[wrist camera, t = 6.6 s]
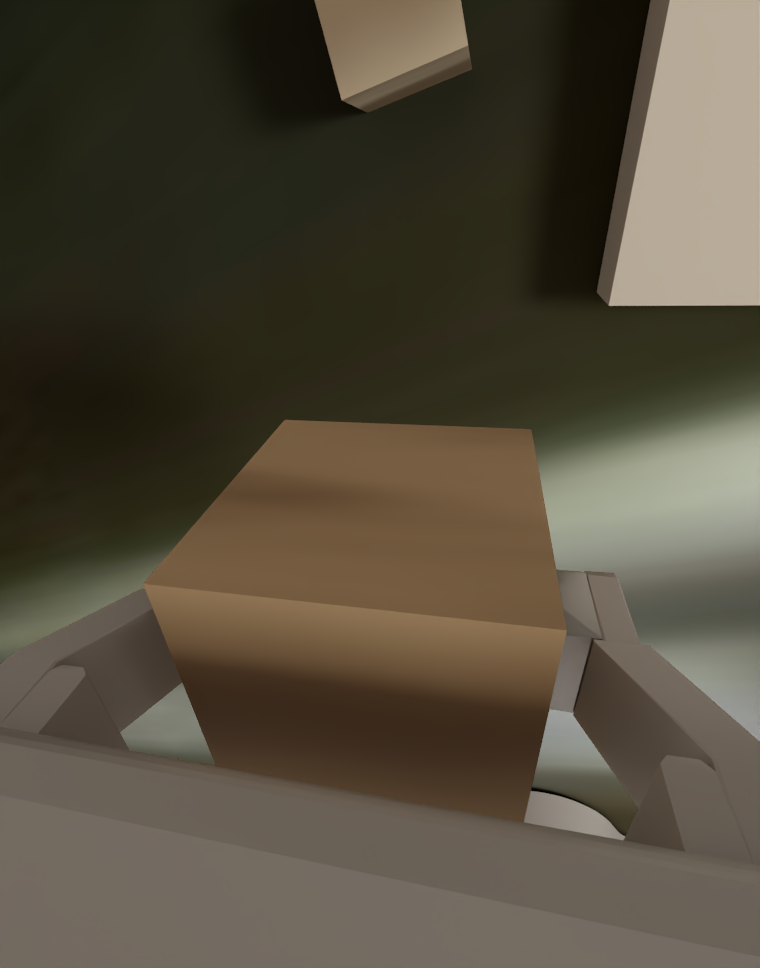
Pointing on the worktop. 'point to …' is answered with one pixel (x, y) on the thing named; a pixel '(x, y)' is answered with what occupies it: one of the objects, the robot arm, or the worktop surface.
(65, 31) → the worktop surface
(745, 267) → the plate
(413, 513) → the oak block
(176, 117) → the worktop surface
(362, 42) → the maple block
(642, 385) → the worktop surface
